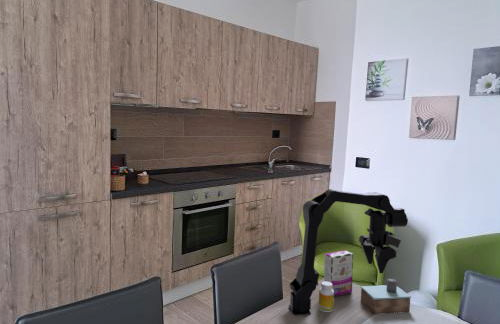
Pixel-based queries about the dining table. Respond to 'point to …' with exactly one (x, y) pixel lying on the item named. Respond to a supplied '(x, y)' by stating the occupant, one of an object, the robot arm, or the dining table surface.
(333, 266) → the candy bar box
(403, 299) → the walnut box
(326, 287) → the supplement bottle
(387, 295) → the sliding cover
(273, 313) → the dining table surface
